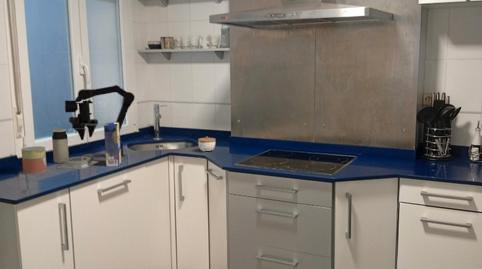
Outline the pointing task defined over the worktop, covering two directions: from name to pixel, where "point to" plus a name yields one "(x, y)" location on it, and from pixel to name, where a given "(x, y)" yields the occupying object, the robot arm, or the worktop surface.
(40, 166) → the canned food
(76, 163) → the grey faceted ring
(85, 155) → the cap
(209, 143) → the lidded jar
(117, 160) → the beverage box
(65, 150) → the travel mug
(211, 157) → the worktop surface
